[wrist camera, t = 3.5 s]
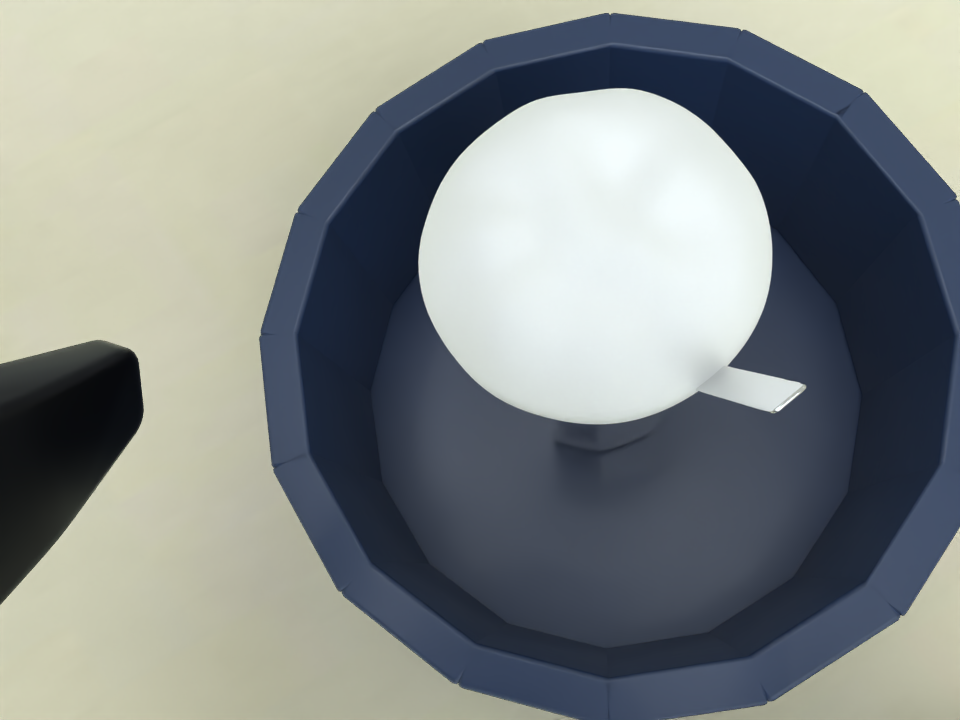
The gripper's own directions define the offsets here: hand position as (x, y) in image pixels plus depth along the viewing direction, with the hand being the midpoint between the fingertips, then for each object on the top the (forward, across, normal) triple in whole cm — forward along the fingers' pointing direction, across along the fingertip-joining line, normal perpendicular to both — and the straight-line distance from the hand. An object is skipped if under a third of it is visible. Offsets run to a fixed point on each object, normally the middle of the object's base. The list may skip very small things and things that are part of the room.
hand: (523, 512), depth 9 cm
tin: (+10, 0, +5) cm, 11 cm away
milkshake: (+10, 0, +5) cm, 11 cm away
